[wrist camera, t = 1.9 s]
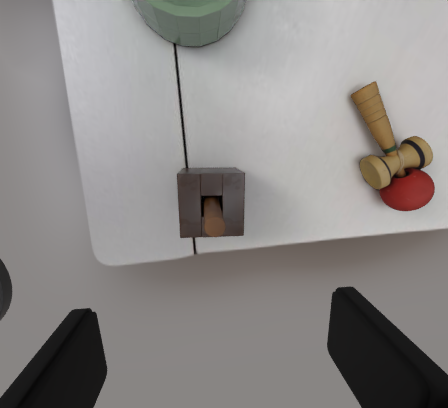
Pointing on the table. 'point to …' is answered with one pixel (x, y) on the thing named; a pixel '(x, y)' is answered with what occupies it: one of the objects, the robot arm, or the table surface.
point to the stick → (213, 217)
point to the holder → (210, 186)
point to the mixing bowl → (190, 19)
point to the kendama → (394, 158)
